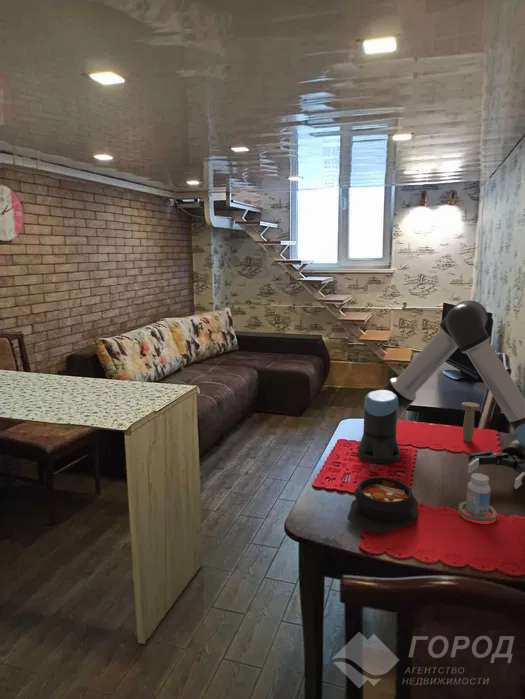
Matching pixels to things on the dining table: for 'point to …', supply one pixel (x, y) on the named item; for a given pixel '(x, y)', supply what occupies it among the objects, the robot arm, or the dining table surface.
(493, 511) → the ring
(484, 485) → the pill bottle
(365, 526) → the casserole
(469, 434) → the handle
